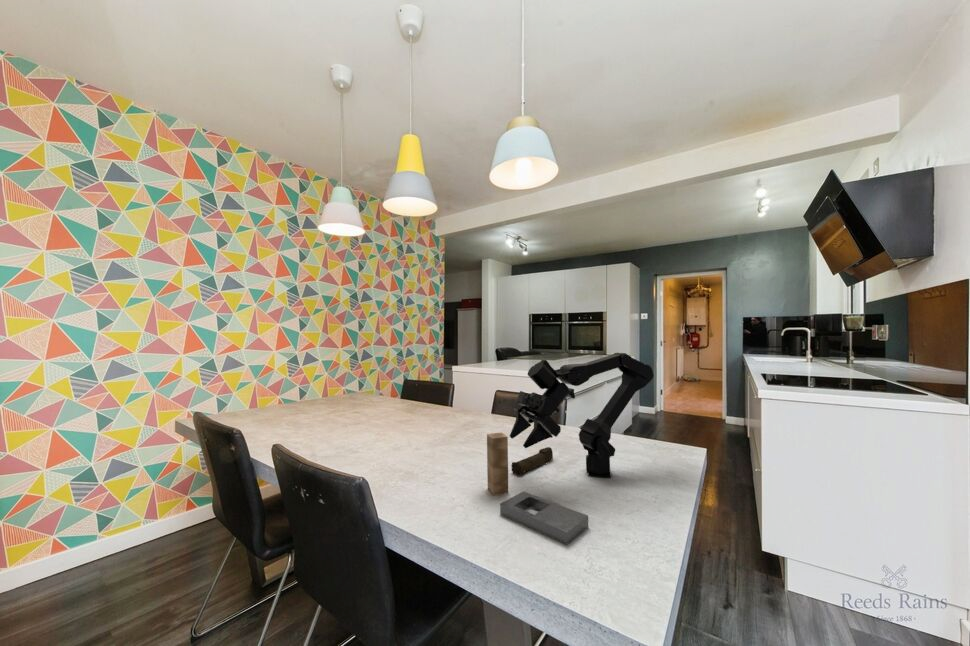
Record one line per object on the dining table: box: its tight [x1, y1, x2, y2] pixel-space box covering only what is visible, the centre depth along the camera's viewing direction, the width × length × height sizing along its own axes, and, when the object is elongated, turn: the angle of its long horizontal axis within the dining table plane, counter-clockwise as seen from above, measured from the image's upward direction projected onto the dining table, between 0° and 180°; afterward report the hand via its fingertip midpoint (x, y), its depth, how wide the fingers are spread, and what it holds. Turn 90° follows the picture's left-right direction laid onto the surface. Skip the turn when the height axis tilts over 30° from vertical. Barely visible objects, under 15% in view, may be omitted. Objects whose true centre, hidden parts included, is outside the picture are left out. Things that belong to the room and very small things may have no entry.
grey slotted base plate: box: [499, 491, 589, 546], centre depth 81 cm, size 18×9×2 cm, turn 46°
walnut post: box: [486, 432, 509, 496], centre depth 97 cm, size 4×4×15 cm
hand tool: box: [511, 446, 554, 476], centre depth 113 cm, size 19×4×5 cm, turn 131°
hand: (517, 442), depth 99 cm, fingers open, 9 cm apart
